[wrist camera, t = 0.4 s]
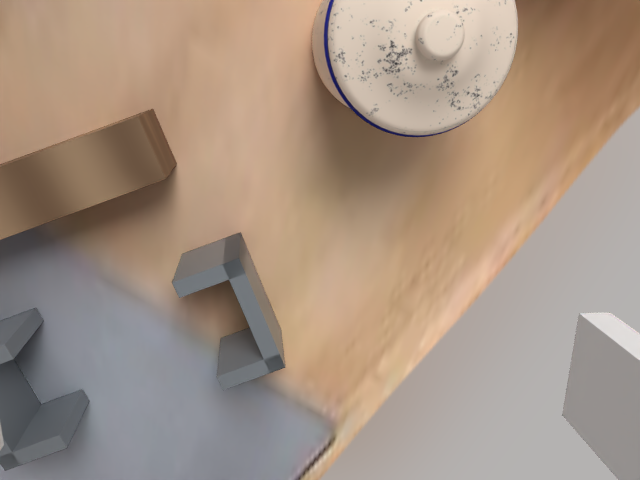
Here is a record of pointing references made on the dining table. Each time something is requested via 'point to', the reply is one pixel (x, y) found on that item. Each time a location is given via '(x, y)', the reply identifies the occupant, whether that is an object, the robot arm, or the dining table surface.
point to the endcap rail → (66, 412)
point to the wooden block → (83, 172)
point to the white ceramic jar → (414, 59)
